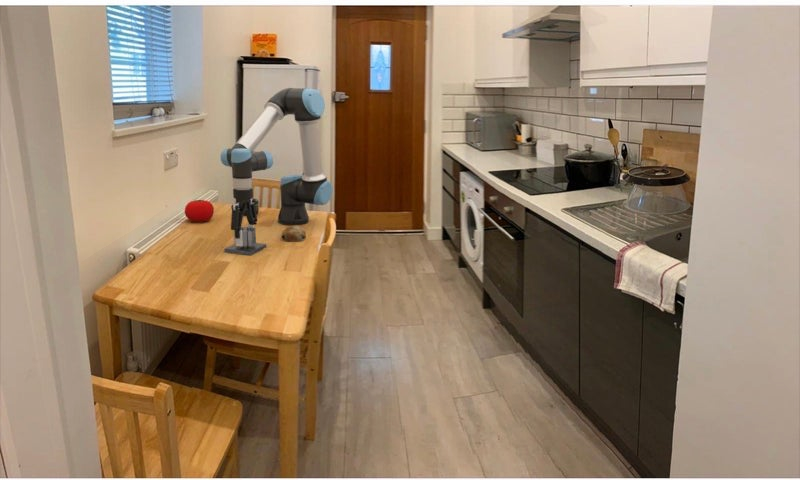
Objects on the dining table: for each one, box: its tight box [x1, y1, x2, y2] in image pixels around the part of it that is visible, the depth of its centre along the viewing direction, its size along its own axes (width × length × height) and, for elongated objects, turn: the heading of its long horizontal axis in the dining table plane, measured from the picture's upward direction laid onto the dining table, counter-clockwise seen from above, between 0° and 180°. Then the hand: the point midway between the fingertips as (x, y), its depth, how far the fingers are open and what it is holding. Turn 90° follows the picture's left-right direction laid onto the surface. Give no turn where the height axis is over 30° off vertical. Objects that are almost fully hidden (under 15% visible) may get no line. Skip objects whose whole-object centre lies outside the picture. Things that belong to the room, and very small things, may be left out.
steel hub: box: [233, 226, 257, 246], centre depth 221 cm, size 8×8×6 cm
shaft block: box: [223, 230, 267, 256], centre depth 222 cm, size 12×12×8 cm
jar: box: [239, 197, 260, 217], centre depth 281 cm, size 10×10×8 cm
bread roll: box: [280, 225, 307, 243], centre depth 240 cm, size 10×10×8 cm
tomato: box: [184, 199, 215, 223], centre depth 265 cm, size 14×13×10 cm
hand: (245, 242), depth 222 cm, fingers closed on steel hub, 8 cm apart
